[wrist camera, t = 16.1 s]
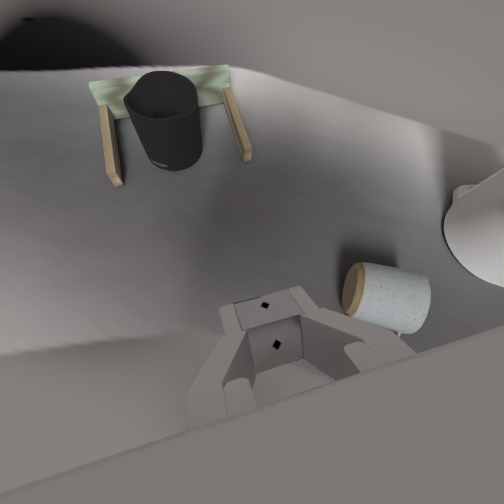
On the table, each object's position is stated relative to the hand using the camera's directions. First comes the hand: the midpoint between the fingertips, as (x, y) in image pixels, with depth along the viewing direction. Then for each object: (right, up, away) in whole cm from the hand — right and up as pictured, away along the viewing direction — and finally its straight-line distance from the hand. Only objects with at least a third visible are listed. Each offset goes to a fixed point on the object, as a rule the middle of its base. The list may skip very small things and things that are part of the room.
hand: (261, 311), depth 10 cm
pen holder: (-13, +18, +35) cm, 42 cm away
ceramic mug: (+16, -6, +28) cm, 32 cm away
